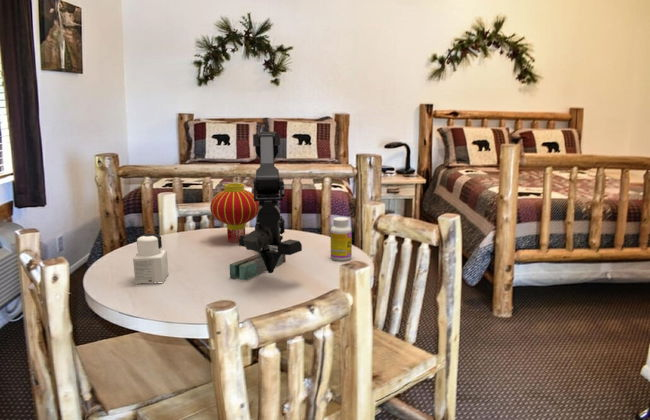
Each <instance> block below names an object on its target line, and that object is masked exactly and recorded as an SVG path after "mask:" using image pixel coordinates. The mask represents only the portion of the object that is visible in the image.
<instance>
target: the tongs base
mask: <svg viewBox="0 0 650 420" xmlns="http://www.w3.org/2000/svg"><path fill="white" fill-rule="evenodd" d="M259 257H261V255H260V254H259V253H257V254H254V255H251V256H249V257H247V258H244V259H240V260H238V261H235V262H232V263H229V266H228V267H229V279H232V280H233V279H234V280H237V279H240V269H239V265H242V264H244V263H247V262H249V261H252V260H254V259H257V258H259ZM285 262H287V261H286V255H284V254H283V264H284V263H285Z"/></svg>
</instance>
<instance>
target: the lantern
mask: <svg viewBox="0 0 650 420" xmlns="http://www.w3.org/2000/svg"><path fill="white" fill-rule="evenodd" d="M234 166H235V165H234V164H232V168H233V171H232V172H233V173H232V174H233V175H235V169H234ZM258 202H259V201H254V192H253V193H252V192H251V191H249V190H247V189H246V188H245V185H244V183H236V182H233V183H226V184H224V189H223V190H222V191H220V192H218V193H217V194H216V195H215V196H214V197H213V198H212V200H211V202H210V205H209V210H210V212H211V215H212V216H213V217H214V218H215V219H216V220H217V221H218V222H220V223H222V224H225V225H226V228H227V229H226V230H227V231H226V232H227V241H228V243H235V244H236V243H237V244H239V239H240V237H241V236H242V235H245V234H246V224H247V223H249V222H250V221H252V220H254V219H255V218H256V217H257V216H258Z"/></svg>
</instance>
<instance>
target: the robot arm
mask: <svg viewBox="0 0 650 420" xmlns="http://www.w3.org/2000/svg"><path fill="white" fill-rule="evenodd" d="M281 142H282V141H281V134H280V133H277V131H256V133H254V134H252V146H253V147H255V154H256V156H258V158H259V161H260V163H259V164H260V165H259V167H258V168H257V169H256V171H255V178H253V194H254V201H259V202H258V214H257V216H256V217H255V218H256V223H255V225H254V230H253V231H251V232H249V233H245V235H242V236H241V237H240V236H239V243H238V246H240V247H244V248H245V249H246V250H247V251H253V252H256V253H257V254H260V255H261V256H262V258H263V261H264V263H265V266H266V268H267V271H266V272H267V273H268V274H273V272H274V271H275V269H276V267H277V266H276V264H277V262H278V260H279V258H280V256H281V254H284V255H285V256H291V255H294V254H297V253H299V252H302V250H303V246H302V242H301V241H300V240H296V239H291V238H289V239H287V240H284V241H283V239H284V238H283V237H284V236H283V234H285V232H286V231H285V219H284V218H283V215H281V210H280V203H279V202H281V201H283V198H284V197H285V182H284V180H283V177H280V172H279V168H277V166H275V160H276V158H277V155H278V154H279V147H281ZM275 266H276V267H275Z"/></svg>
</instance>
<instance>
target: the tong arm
mask: <svg viewBox="0 0 650 420" xmlns="http://www.w3.org/2000/svg"><path fill="white" fill-rule="evenodd" d="M282 264H284V263H283V254H281V256H280V258H279V260H278V262H277V264H276V266H275V268H276V267H278V266H281V265H282ZM239 269H240V278H239V280H240V281H241V280H243V281H248V280H250V279H252V278H254V277H256V276H258V275H259V276H260V274H262V273H266V272H268V271H267V268H266V266H265V263H264V261H263V258H262V256H261V257H259V258H257V259H254V260H252V261H249V262H247V263H244V264H242V265H239Z"/></svg>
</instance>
